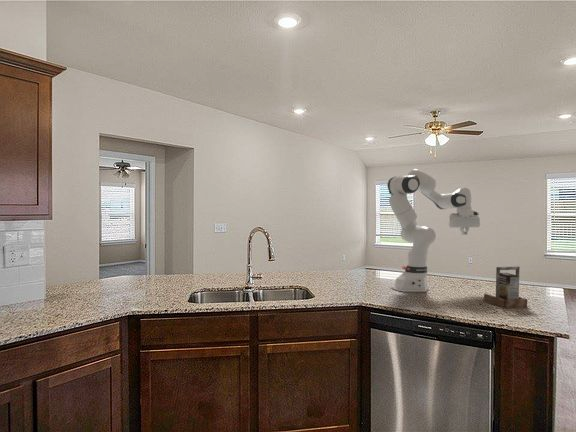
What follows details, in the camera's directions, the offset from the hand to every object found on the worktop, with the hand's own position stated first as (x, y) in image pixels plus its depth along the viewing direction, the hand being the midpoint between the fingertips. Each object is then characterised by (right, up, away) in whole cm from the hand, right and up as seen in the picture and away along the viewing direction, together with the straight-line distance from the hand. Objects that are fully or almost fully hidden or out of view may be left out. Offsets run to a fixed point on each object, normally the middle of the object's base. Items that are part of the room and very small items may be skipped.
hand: (464, 234), depth 262 cm
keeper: (+1, -35, -46) cm, 58 cm away
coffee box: (+2, -35, -47) cm, 59 cm away
